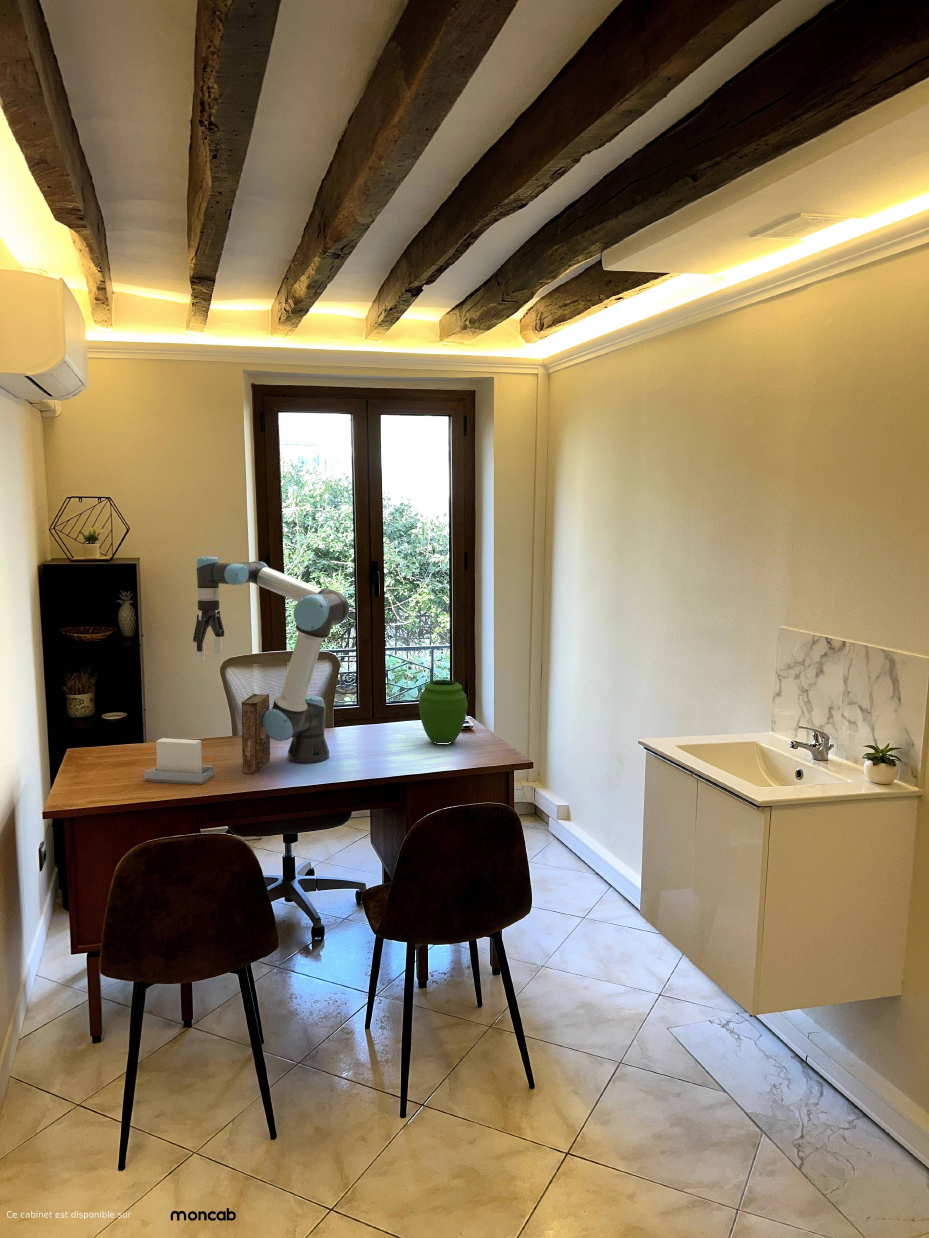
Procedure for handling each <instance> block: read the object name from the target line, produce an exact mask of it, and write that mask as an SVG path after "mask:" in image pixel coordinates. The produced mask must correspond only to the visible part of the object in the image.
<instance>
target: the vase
mask: <svg viewBox="0 0 929 1238" xmlns="http://www.w3.org/2000/svg"><path fill="white" fill-rule="evenodd" d="M468 707H469V704H468V698H467V694H466V693H465V691H463V686H462V685H461V683H459V682H458V681H455V680H451V679H435V680H431V681H429V682H428V683H427V684H425V685H424V690H423V691H422V692H421V693H420V696H419V700H418V709H419V717H420V722H421V724H422V727H423V730H424V732H425V734H426V736H427V738H428V739H429V740H430V742H431V743H433V742H436V743H449V742H453V741H454V742H455V741H456V740H457V739H458V737H459V736H460V734H461V732H462V730H463V727H464V725H465V721H466V717H467V712H468ZM454 742H453V743H454Z"/></svg>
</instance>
